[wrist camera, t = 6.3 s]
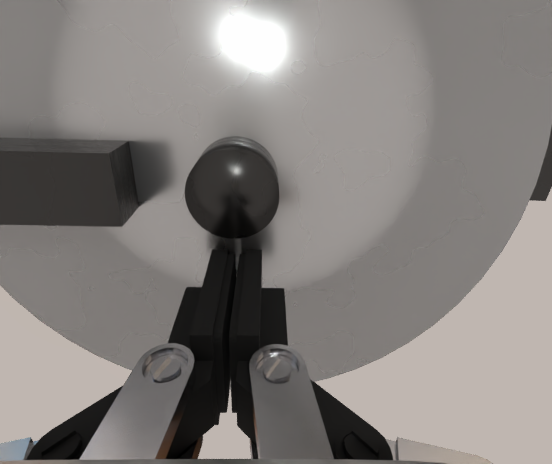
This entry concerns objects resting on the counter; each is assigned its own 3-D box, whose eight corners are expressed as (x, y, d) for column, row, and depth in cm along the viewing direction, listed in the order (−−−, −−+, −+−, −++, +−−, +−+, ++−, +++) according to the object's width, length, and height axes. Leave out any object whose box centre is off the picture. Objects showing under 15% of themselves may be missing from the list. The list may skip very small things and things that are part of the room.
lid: (-427, -372, 7) (-787, -592, 4) (681, -303, 7) (868, -464, 5) (-44, 370, 15) (-98, 425, 13) (449, 373, 16) (479, 427, 13)
